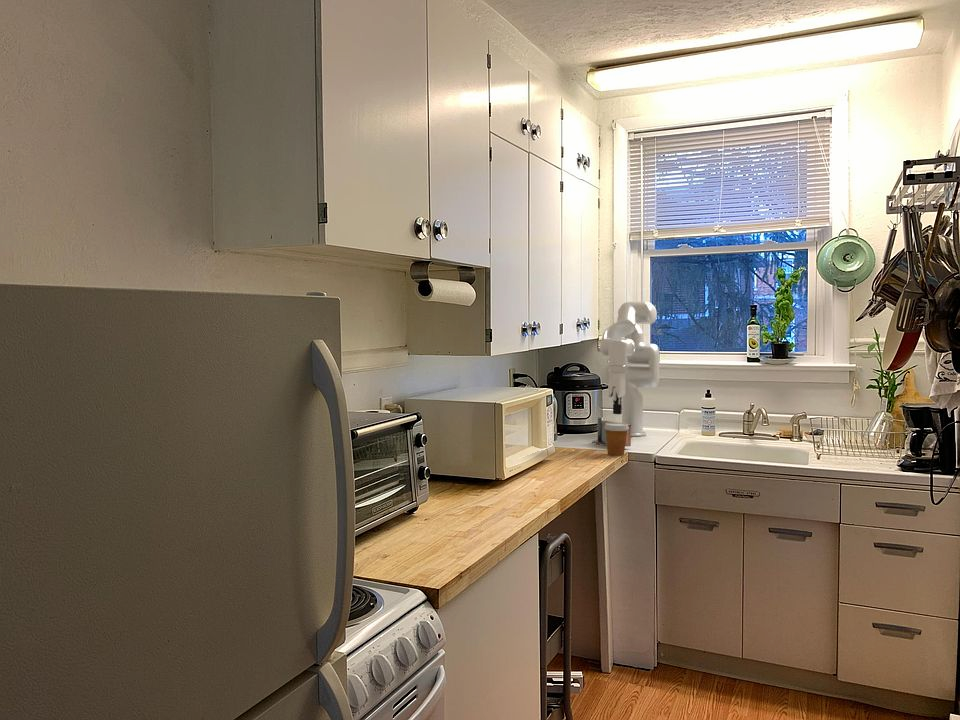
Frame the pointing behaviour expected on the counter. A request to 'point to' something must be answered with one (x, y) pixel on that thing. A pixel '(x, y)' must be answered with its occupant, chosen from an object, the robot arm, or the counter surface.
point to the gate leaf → (628, 439)
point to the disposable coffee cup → (616, 438)
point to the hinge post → (599, 433)
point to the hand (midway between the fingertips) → (617, 413)
